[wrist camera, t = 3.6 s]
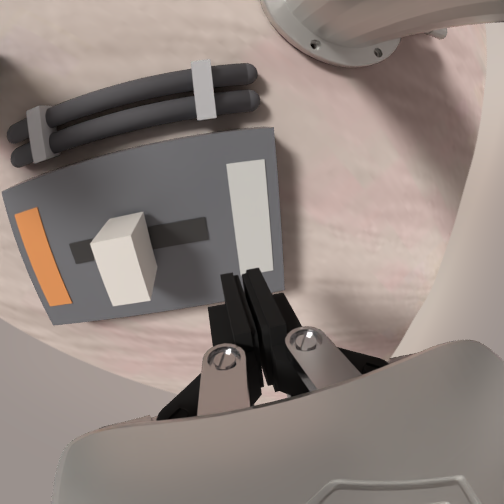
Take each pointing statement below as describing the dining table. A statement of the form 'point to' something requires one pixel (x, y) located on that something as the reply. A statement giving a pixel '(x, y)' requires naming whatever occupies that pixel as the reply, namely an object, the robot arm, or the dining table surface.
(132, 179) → the panel
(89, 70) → the dining table surface
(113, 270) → the block
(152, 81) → the dressed cords
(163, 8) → the dining table surface
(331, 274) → the dining table surface
